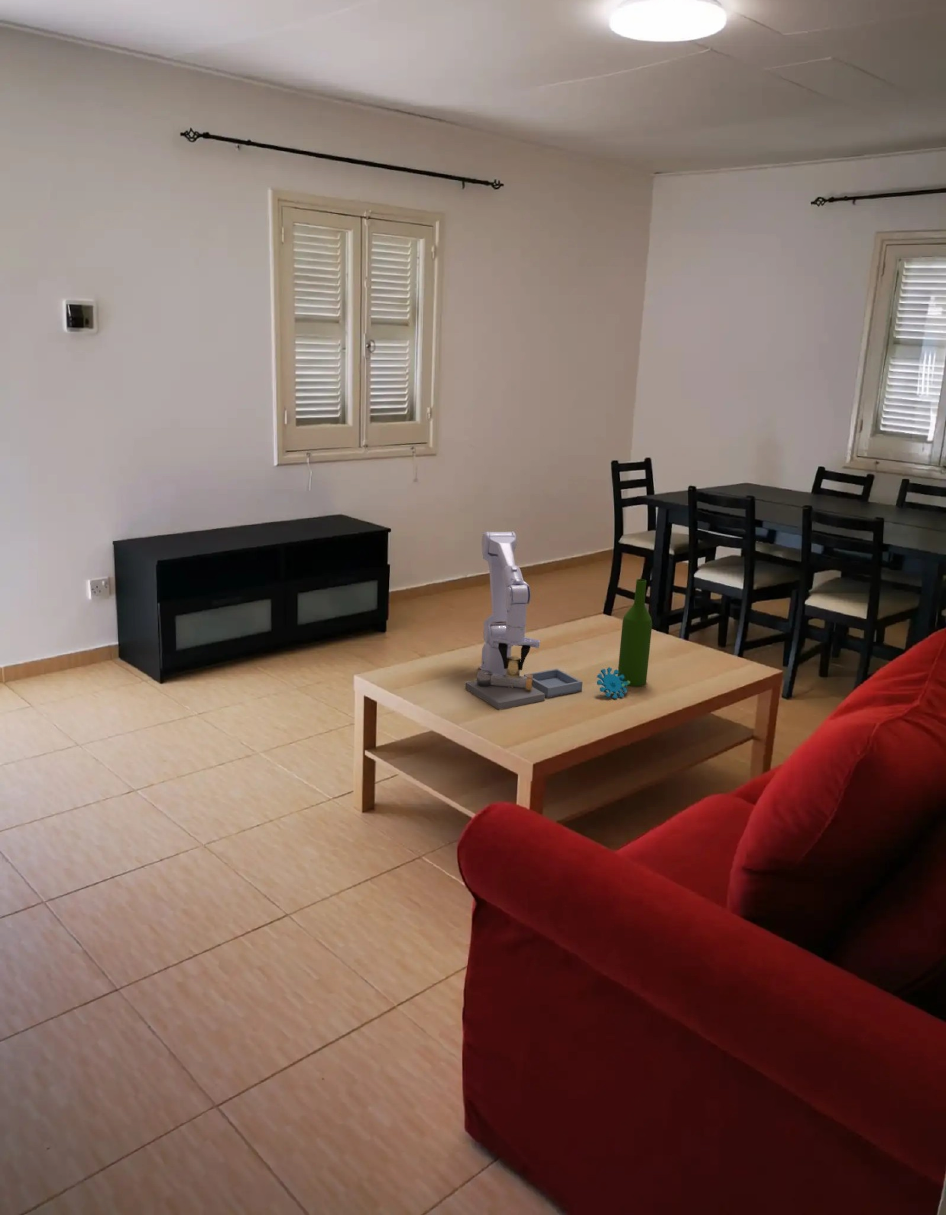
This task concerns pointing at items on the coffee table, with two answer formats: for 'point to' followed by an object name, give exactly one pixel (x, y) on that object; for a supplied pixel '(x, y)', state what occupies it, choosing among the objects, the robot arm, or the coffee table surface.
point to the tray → (555, 683)
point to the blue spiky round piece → (612, 683)
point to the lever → (503, 680)
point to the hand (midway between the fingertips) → (513, 668)
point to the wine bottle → (635, 640)
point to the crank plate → (505, 695)
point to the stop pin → (513, 666)
